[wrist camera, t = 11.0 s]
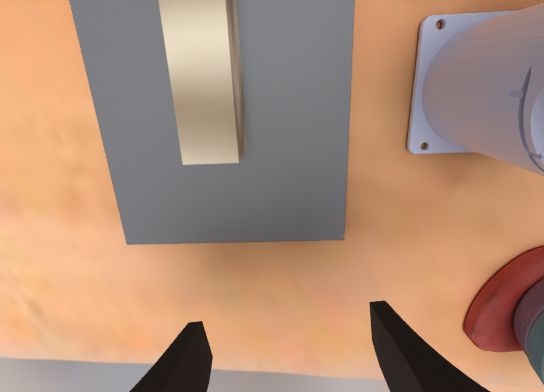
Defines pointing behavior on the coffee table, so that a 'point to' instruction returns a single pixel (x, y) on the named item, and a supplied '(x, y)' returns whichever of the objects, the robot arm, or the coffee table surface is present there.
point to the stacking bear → (512, 311)
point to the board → (258, 117)
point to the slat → (205, 78)
